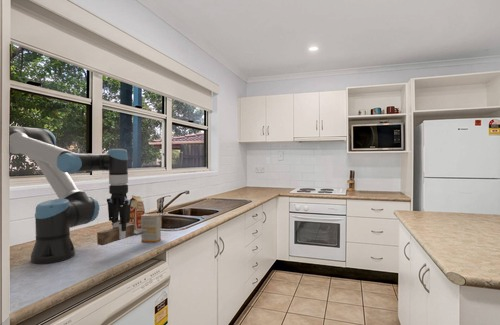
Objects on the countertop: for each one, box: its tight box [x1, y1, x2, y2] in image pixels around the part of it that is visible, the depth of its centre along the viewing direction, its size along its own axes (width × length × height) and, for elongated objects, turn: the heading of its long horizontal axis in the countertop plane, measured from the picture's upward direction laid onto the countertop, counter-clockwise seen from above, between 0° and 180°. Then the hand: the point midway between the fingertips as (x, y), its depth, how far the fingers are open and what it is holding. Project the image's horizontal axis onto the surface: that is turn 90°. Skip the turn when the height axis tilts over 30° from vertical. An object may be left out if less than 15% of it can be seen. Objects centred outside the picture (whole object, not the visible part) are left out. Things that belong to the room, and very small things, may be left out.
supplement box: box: [140, 213, 162, 243], centre depth 144 cm, size 8×5×13 cm, turn 85°
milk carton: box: [126, 195, 146, 230], centre depth 166 cm, size 9×9×20 cm
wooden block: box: [96, 224, 148, 246], centre depth 129 cm, size 23×6×5 cm, turn 153°
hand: (119, 237), depth 127 cm, fingers closed on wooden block, 3 cm apart
